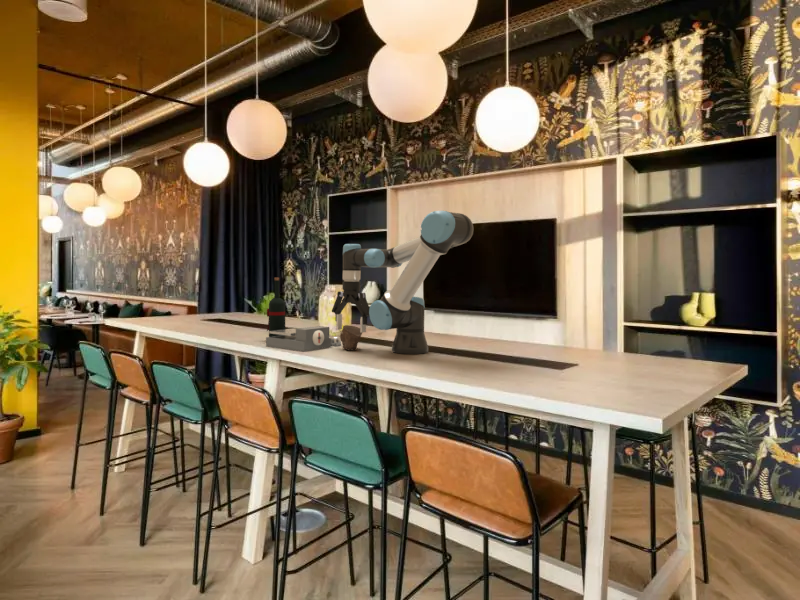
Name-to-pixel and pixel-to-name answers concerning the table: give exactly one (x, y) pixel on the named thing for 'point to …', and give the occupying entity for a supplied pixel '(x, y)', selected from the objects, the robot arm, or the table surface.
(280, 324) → the wine bottle
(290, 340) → the scale base
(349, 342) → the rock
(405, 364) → the table surface
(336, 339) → the spacer
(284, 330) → the pan
